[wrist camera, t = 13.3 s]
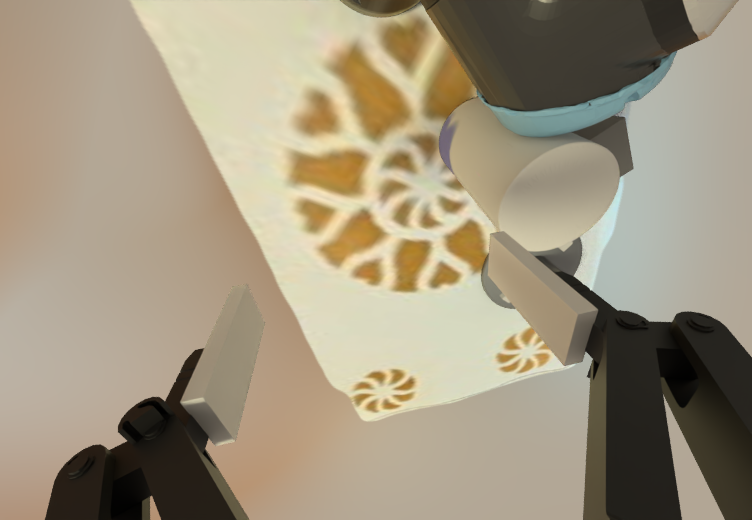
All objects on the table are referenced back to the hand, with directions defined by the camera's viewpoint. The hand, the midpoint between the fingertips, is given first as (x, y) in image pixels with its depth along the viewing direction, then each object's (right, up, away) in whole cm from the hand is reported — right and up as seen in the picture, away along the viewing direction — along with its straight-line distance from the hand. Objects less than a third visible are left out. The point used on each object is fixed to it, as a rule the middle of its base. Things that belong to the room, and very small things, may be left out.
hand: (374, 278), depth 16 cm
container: (+13, +18, +25) cm, 34 cm away
